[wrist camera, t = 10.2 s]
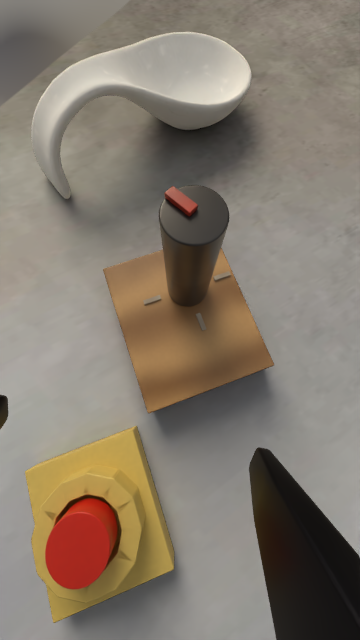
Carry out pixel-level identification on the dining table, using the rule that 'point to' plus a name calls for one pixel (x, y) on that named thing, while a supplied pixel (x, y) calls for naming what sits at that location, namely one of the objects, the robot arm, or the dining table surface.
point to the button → (81, 544)
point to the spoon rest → (143, 89)
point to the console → (184, 331)
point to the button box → (126, 503)
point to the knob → (191, 240)
